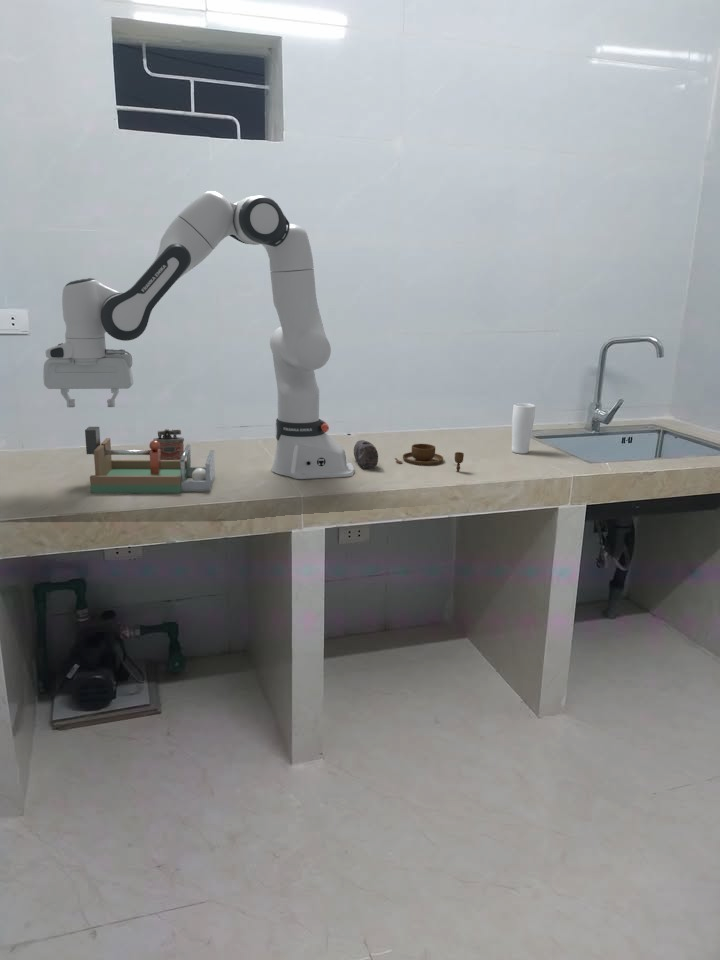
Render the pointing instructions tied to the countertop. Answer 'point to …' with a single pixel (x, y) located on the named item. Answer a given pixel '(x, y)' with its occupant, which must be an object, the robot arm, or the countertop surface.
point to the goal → (192, 485)
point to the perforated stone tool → (365, 454)
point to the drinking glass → (522, 427)
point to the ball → (199, 474)
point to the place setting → (428, 456)
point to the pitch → (133, 474)
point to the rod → (94, 441)
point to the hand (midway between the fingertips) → (91, 406)
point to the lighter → (170, 444)
